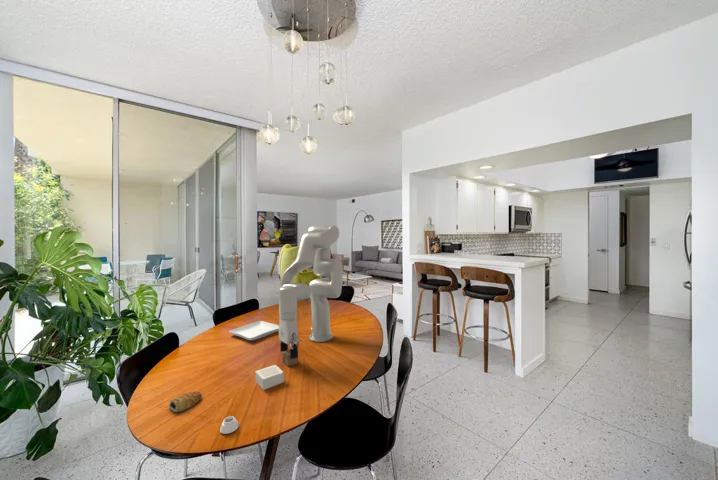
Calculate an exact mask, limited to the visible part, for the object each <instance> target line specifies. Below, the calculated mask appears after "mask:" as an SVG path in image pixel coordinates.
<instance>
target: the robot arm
mask: <svg viewBox="0 0 718 480" xmlns="http://www.w3.org/2000/svg"><path fill="white" fill-rule="evenodd" d="M339 237H340V229H339V228H338V226H337V225H336V224H335V225H334V224H330V225H326V224H324V225H313V226H310V227H309V228H308V230H307V232H305V233H304V234H303V235H302V236H301V240H300V243H299V246H298V250H297V254H296V259H295V260H294V262H293V263H291V265H289V267H288V268H287V269H286V270H285V271H284V272H283V274H282V277H281V279H280V280H281V281H280V284H279V289H278V310H279V311H278V313H279V314H278V315H279V316H278V317H279V320H278V321H279V322H278V325H279V331H278V339H279V341H280V352H283V351H286V350H289V347H290V358H291V359H293V358H296V357H298V358H299V346H300V345H299V344H300V339H299V335H298V333H299V331H298V330H299V329H298V323H297V319H298V302H299V301H306V299H308V298H309V297H310V308H311V309H310V311H311V328H310V331H311V333H310V335H309V339H308V340H310V341H311V342H315V343H324V342H328V341H331V340H332V339H333V338H334V334H333V333H332V332H331V319H330V318H331V317H330V316H331V315H330V303H329V300H328V298H329V299H337V298H339V297H340V296H341V294H342V289H343V288H342V286H343V276H344V275H343V274H344V267H343V263H342V261H341V260H340V259H338V258H331V248H330V247H331V246H333V244H335V243H336V242H337V240H338V239H339ZM312 266H313V274H314V275H315V276H316V277H327V278H315V279H313V280H311V281H310V282H309V283H308V284H306V283H301V282H300V283H299V282H293V280H294V278H295V277H296V276H297V275H299V273H301V272H304V271H305V270H307V269H309V268H311V267H312ZM328 277H330V278H328Z"/></svg>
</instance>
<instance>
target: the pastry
mask: <svg viewBox="0 0 718 480" xmlns="http://www.w3.org/2000/svg"><path fill="white" fill-rule="evenodd" d="M202 397H203V395H202V393H201V391H193V392H192V391H191V392H186V393H180V395H176V396H174V398H171V399H170V402H169V404H168V407H169V408H170V411H172V412H174V413H181V412H183V411H185V410H187V409H190V408H192V407H193V406H195V405H196V404H197V403H199V402H200V401H201V400H202ZM199 400H200V401H199ZM198 401H199V402H198ZM195 403H196V404H195ZM189 407H190V408H189Z"/></svg>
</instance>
